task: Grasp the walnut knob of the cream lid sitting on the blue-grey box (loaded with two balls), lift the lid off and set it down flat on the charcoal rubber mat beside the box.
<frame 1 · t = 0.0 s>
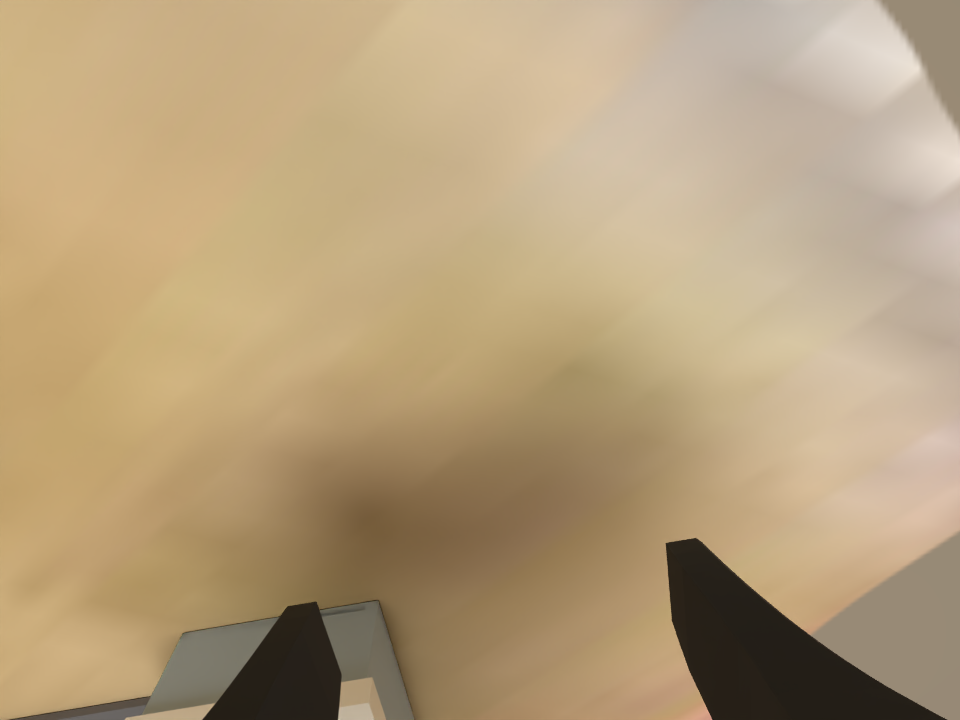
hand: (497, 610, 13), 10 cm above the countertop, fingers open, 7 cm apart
box: (307, 688, 27), on the countertop
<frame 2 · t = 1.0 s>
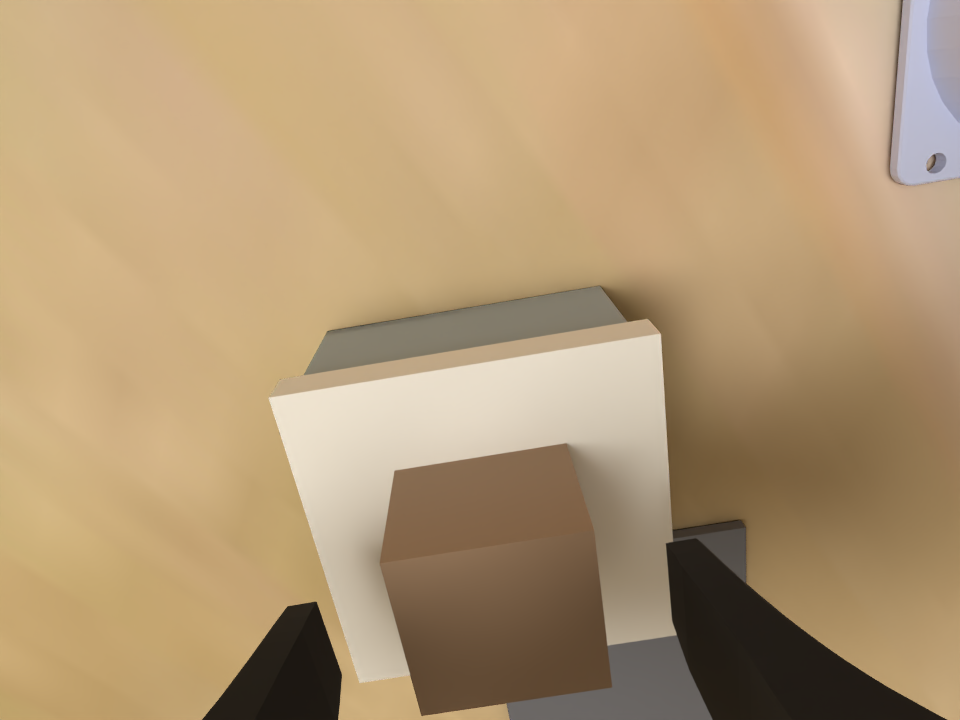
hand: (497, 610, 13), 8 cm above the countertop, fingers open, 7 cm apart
box: (484, 429, 20), on the countertop
lid: (491, 503, 17), point 4 cm above the countertop, touching box
mat: (619, 639, 24), on the countertop
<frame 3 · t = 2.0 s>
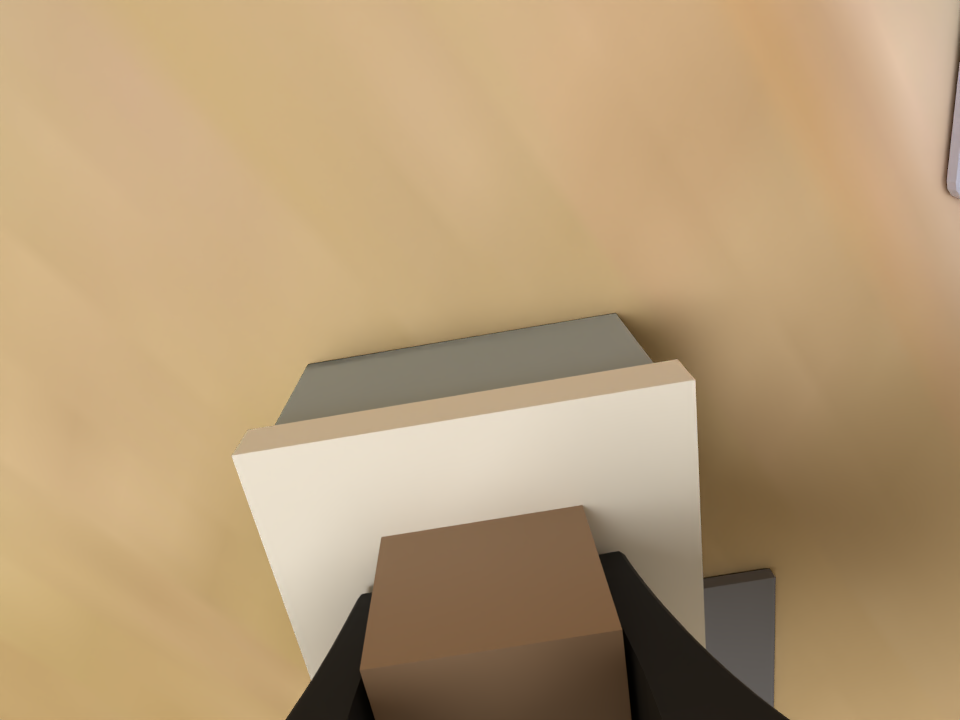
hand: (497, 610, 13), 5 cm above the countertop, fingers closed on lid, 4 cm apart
box: (485, 471, 18), on the countertop
lid: (493, 567, 14), point 4 cm above the countertop, touching box, gripper
mat: (633, 696, 22), on the countertop
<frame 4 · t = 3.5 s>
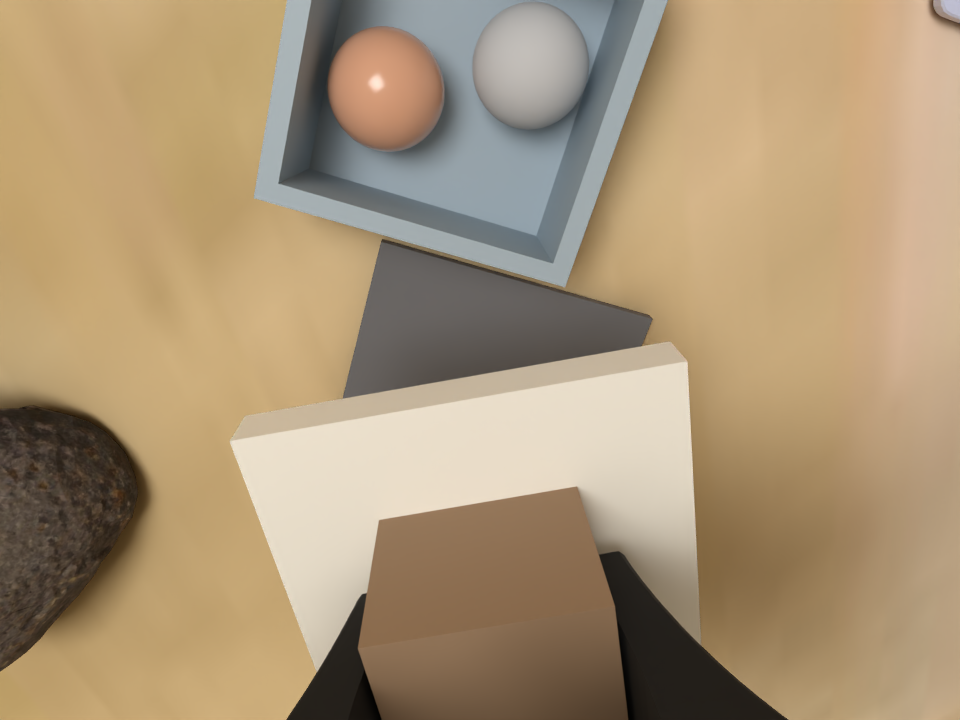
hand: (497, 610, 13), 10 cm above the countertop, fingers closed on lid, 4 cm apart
box: (457, 81, 18), on the countertop
stone: (13, 496, 23), on the countertop
ball grey: (524, 70, 18), resting on box
lid: (491, 549, 15), point 8 cm above the countertop, touching gripper
mat: (479, 400, 22), on the countertop
ball terracotta: (391, 91, 18), resting on box
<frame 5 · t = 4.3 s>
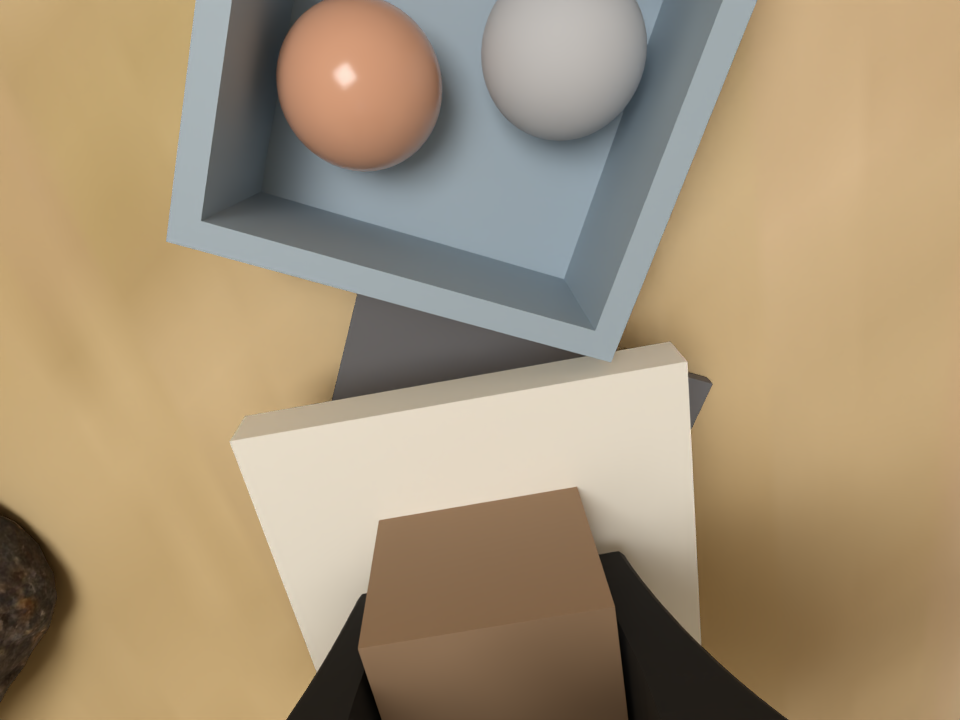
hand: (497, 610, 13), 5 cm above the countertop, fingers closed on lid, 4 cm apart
box: (460, 74, 14), on the countertop
ball grey: (551, 59, 13), resting on box
lid: (491, 549, 15), point 3 cm above the countertop, touching gripper
mat: (487, 482, 17), on the countertop
ball terracotta: (370, 88, 13), resting on box
when the fingers open (3 cm above the countertop, at t = 5.0 s): lid drops 1 cm, resting on mat.
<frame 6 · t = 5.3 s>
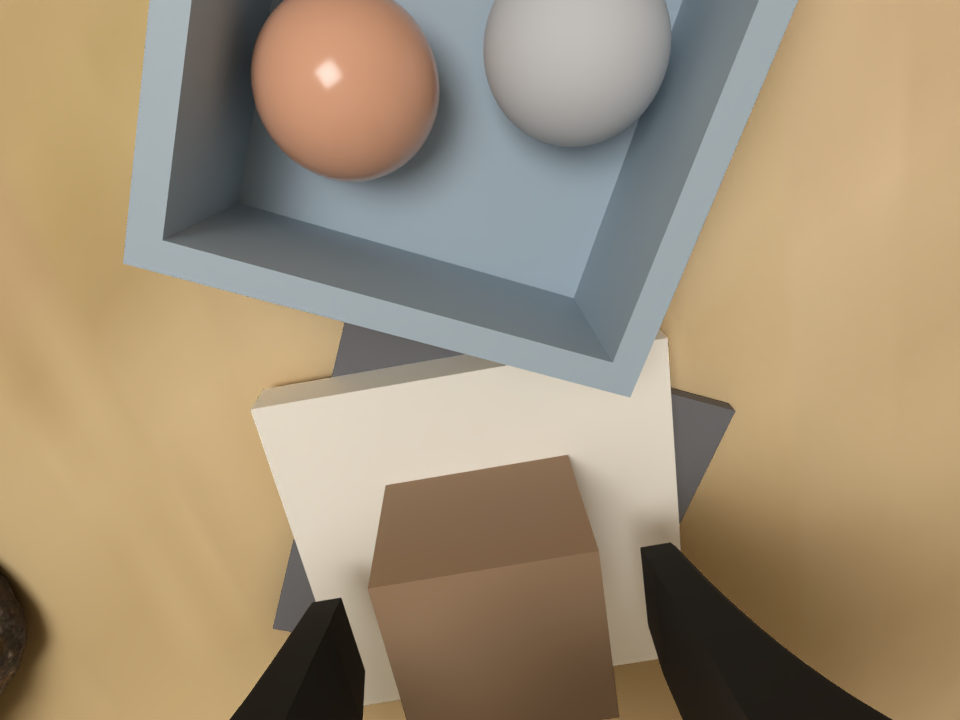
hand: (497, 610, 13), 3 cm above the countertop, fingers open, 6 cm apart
box: (460, 73, 12), on the countertop
ball grey: (561, 55, 12), resting on box
lid: (488, 518, 16), resting on mat
mat: (489, 516, 16), on the countertop
ball terracotta: (360, 88, 12), resting on box
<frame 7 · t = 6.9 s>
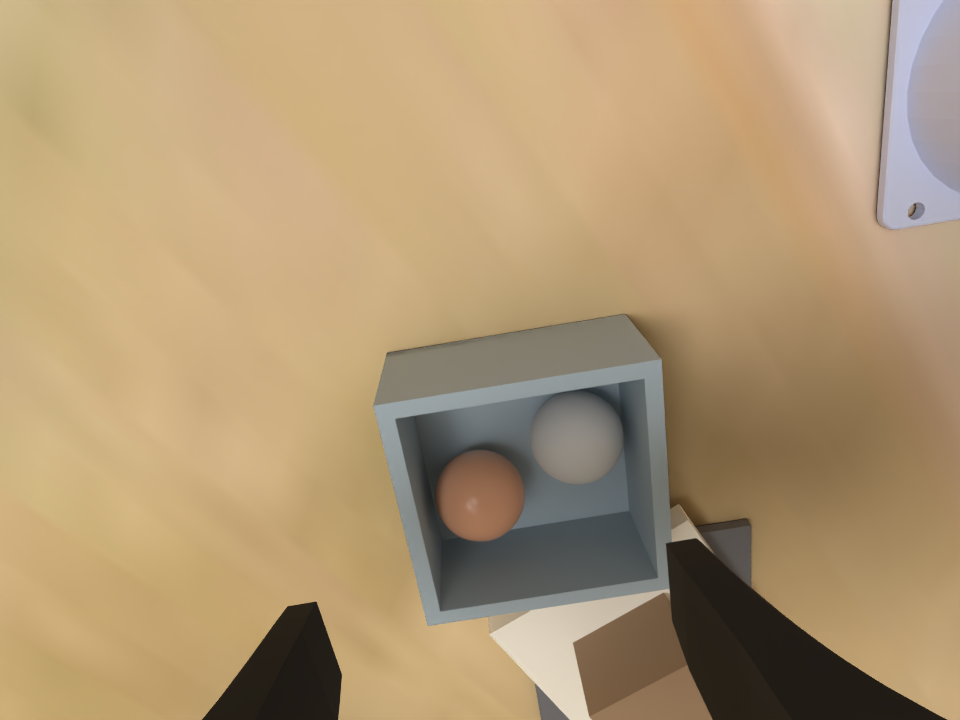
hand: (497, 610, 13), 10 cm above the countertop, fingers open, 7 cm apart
box: (521, 438, 23), on the countertop
ball grey: (568, 415, 22), resting on box
lid: (636, 630, 26), resting on mat
mat: (637, 626, 26), on the countertop
ball terracotta: (478, 470, 23), resting on box
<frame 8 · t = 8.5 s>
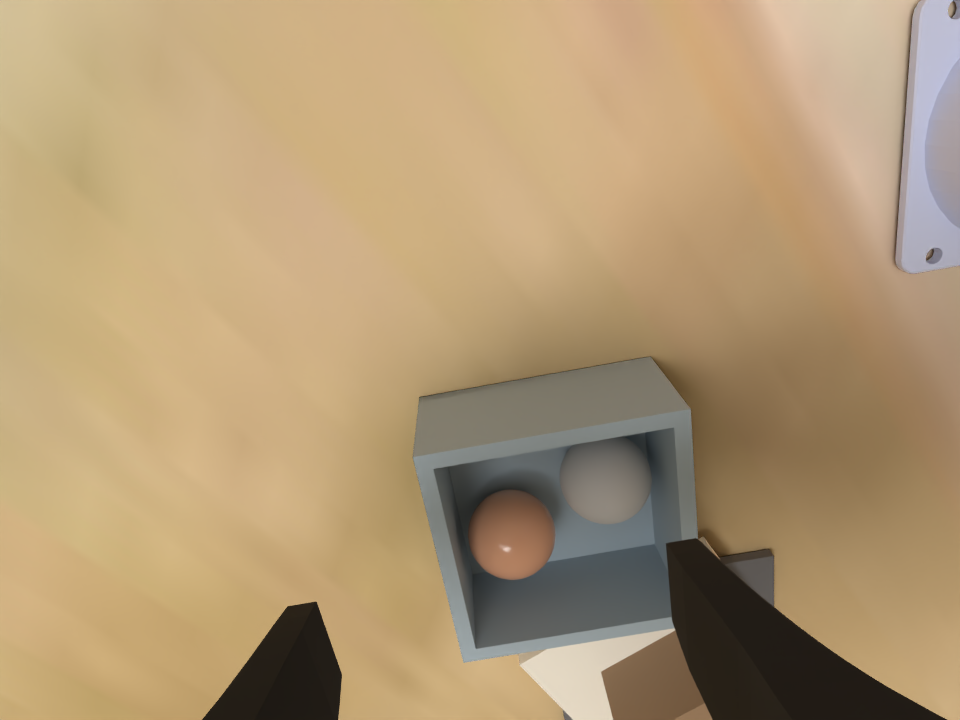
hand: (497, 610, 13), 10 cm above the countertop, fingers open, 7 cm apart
box: (549, 475, 24), on the countertop
ball grey: (595, 454, 23), resting on box
lid: (662, 657, 27), resting on mat
mat: (662, 653, 27), on the countertop
ball terracotta: (508, 508, 24), resting on box
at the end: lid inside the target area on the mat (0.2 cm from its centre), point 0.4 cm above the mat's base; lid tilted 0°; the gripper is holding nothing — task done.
